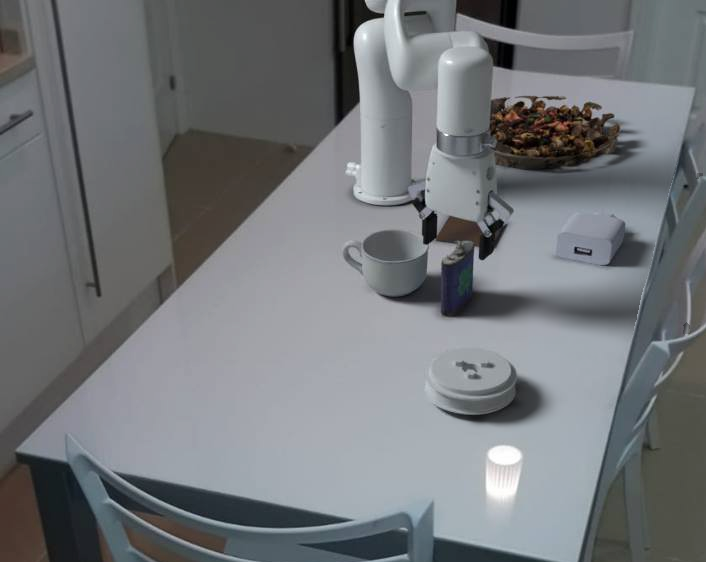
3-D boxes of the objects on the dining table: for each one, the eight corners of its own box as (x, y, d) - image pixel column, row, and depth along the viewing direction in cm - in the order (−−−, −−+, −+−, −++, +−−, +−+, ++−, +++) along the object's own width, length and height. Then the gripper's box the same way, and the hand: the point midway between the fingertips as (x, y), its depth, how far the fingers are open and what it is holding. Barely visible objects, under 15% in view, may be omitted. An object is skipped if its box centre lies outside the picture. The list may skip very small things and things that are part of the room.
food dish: (640, 135, 231) (646, 98, 226) (577, 192, 210) (583, 153, 205) (492, 102, 245) (495, 67, 240) (419, 152, 224) (421, 115, 219)
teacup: (437, 280, 179) (439, 235, 174) (411, 309, 172) (412, 263, 167) (361, 265, 184) (360, 220, 179) (332, 293, 176) (331, 247, 172)
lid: (450, 429, 146) (451, 398, 142) (409, 383, 155) (409, 352, 152) (532, 406, 149) (535, 375, 146) (487, 362, 159) (489, 332, 156)
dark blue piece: (460, 289, 177) (463, 227, 170) (477, 293, 175) (481, 231, 169) (436, 314, 170) (438, 252, 164) (454, 318, 169) (456, 255, 162)
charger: (631, 231, 192) (608, 266, 182) (580, 222, 196) (555, 256, 185) (635, 205, 189) (612, 240, 179) (583, 197, 193) (558, 230, 182)
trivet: (435, 240, 191) (435, 237, 190) (450, 217, 198) (450, 214, 198) (491, 247, 188) (491, 244, 188) (504, 224, 196) (504, 220, 195)
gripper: (528, 143, 154) (519, 252, 165) (423, 120, 162) (421, 226, 173) (504, 161, 149) (496, 273, 160) (397, 136, 157) (396, 245, 168)
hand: (457, 248), depth 166 cm, fingers open, 9 cm apart
